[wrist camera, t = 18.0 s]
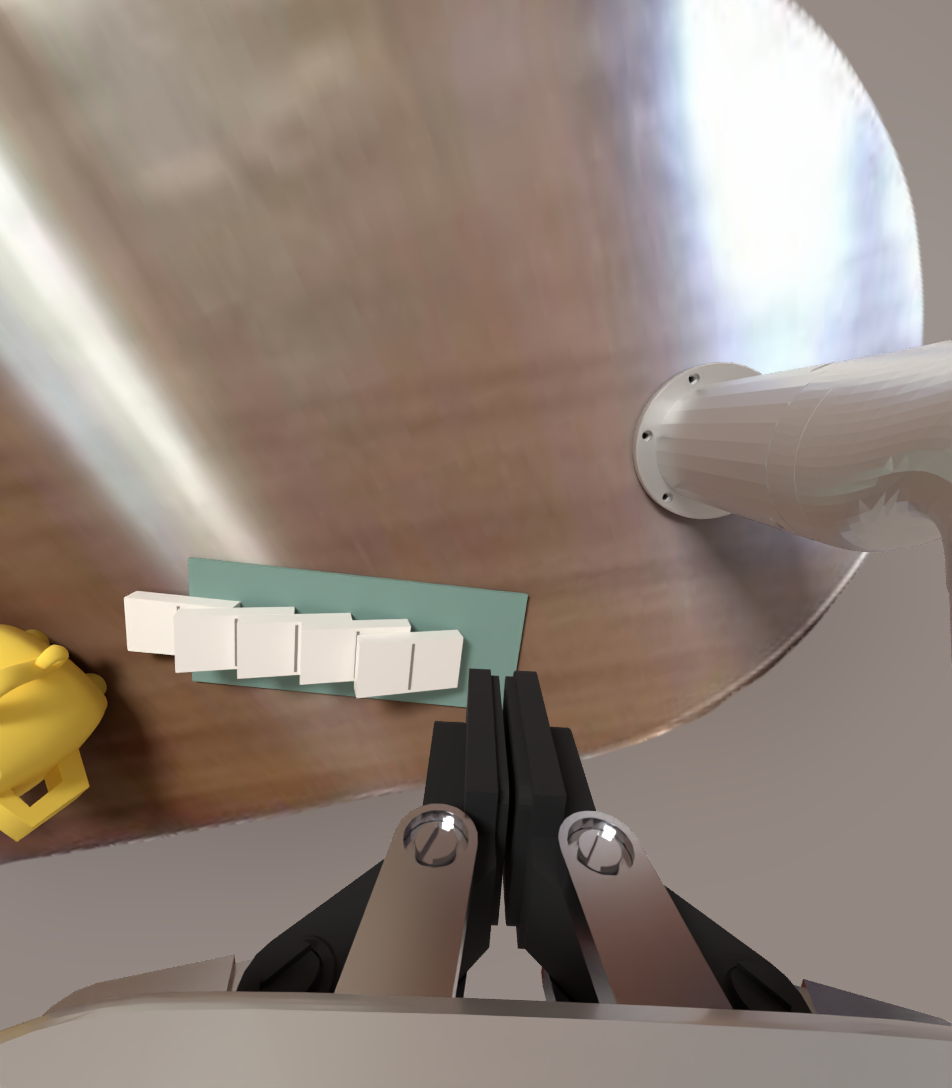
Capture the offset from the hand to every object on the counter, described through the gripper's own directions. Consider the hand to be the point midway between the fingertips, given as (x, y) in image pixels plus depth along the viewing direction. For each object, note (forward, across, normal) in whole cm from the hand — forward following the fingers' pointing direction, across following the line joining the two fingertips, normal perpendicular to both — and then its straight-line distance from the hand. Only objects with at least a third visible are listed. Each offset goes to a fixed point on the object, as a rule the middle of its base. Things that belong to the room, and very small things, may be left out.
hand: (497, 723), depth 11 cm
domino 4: (+28, +6, +13) cm, 32 cm away
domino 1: (+28, +21, +12) cm, 37 cm away
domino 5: (+28, +2, +14) cm, 32 cm away
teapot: (+29, +41, +20) cm, 54 cm away
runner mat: (+29, +11, +13) cm, 34 cm away
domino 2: (+28, +16, +12) cm, 35 cm away
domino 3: (+28, +11, +13) cm, 33 cm away
